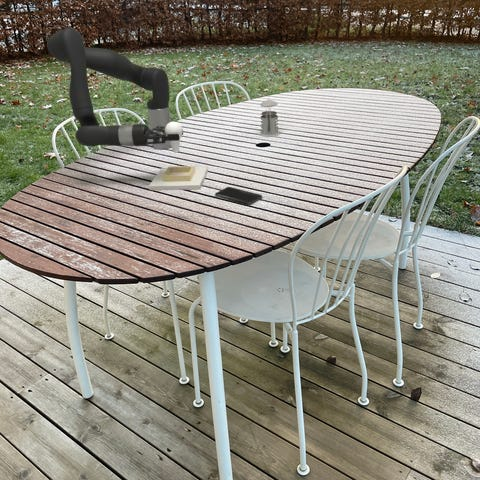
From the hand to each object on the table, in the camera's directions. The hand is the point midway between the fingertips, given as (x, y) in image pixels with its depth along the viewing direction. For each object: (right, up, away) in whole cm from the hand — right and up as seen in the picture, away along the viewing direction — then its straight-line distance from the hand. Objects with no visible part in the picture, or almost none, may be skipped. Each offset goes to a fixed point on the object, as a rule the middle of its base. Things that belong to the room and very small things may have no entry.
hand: (180, 134), depth 164 cm
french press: (+34, +12, +54) cm, 65 cm away
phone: (+20, -23, -8) cm, 31 cm away
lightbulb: (-2, -6, +3) cm, 7 cm away
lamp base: (-1, -15, +8) cm, 17 cm away
